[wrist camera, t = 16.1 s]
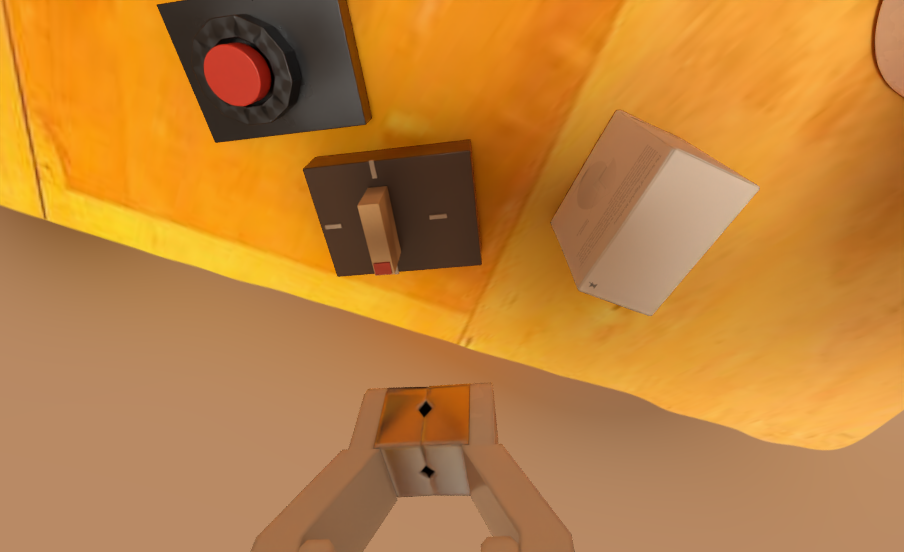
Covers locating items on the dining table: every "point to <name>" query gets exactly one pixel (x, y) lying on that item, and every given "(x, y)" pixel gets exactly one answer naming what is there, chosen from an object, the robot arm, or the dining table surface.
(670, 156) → the cosmetics box
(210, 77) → the button
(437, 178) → the panel
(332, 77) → the button box
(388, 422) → the robot arm
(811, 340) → the dining table surface
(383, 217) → the knob
